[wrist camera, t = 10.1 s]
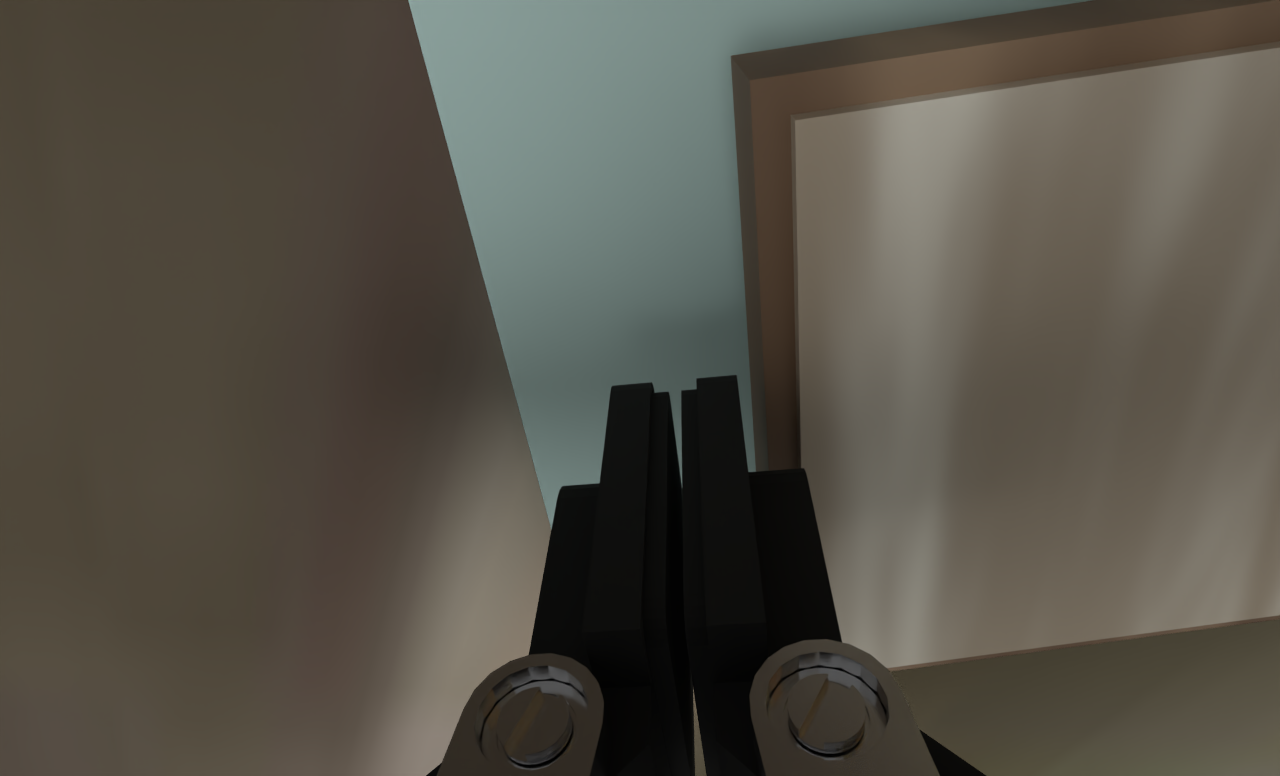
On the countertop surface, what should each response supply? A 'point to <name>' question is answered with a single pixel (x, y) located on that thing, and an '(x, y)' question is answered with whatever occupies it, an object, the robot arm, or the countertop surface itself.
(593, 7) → the mat
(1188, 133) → the walnut board
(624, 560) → the robot arm
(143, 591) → the countertop surface
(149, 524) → the countertop surface
